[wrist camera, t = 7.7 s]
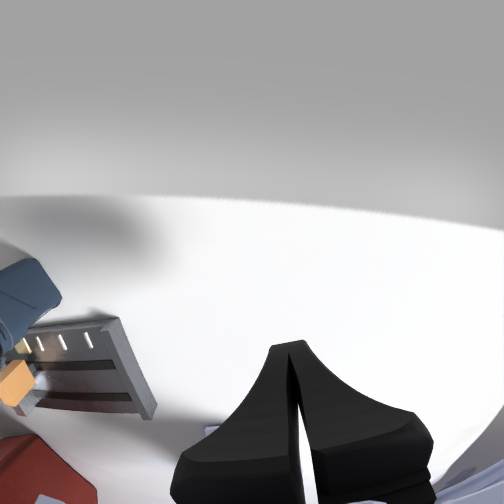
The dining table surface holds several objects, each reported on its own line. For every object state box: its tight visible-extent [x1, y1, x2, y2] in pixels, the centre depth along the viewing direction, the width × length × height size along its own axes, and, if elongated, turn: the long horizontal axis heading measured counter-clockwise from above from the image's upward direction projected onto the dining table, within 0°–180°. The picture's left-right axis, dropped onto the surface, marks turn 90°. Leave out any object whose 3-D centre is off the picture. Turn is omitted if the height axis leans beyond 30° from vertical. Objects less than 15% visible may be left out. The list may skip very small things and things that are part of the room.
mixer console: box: [0, 318, 157, 420], centre depth 22 cm, size 9×18×4 cm, turn 102°
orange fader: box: [0, 360, 36, 407], centre depth 21 cm, size 3×2×5 cm
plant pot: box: [0, 434, 98, 504], centre depth 22 cm, size 19×19×17 cm
